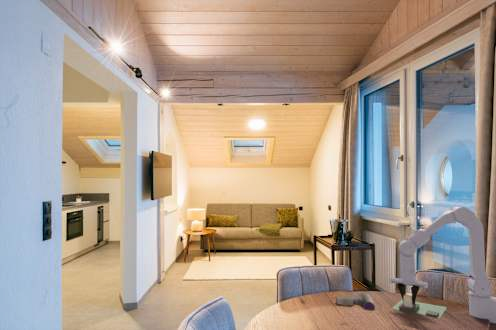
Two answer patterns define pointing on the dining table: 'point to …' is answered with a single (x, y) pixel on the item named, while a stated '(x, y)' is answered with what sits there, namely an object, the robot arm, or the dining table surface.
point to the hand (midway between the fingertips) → (409, 303)
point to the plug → (408, 300)
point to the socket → (416, 307)
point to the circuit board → (426, 309)
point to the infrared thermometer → (357, 300)
